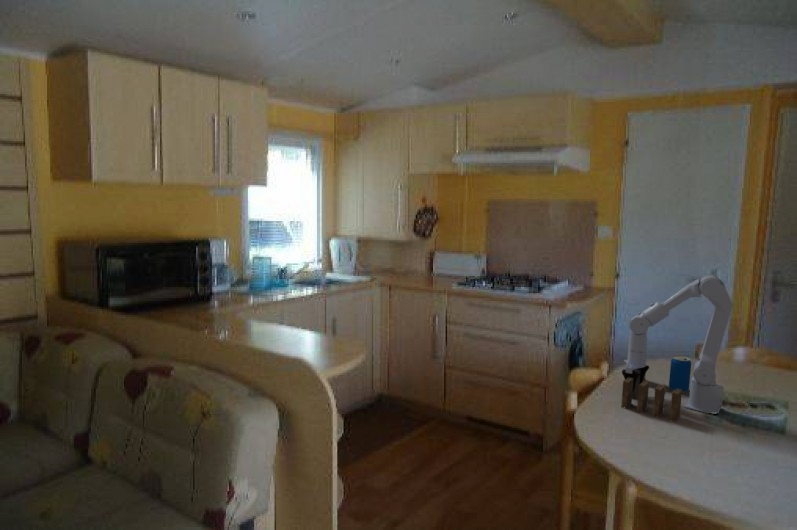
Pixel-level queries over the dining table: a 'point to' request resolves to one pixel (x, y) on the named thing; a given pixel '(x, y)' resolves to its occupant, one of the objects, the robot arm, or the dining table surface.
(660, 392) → the domino
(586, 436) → the dining table surface
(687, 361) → the beverage can
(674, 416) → the domino
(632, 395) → the domino
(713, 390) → the robot arm
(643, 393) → the domino
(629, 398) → the domino
